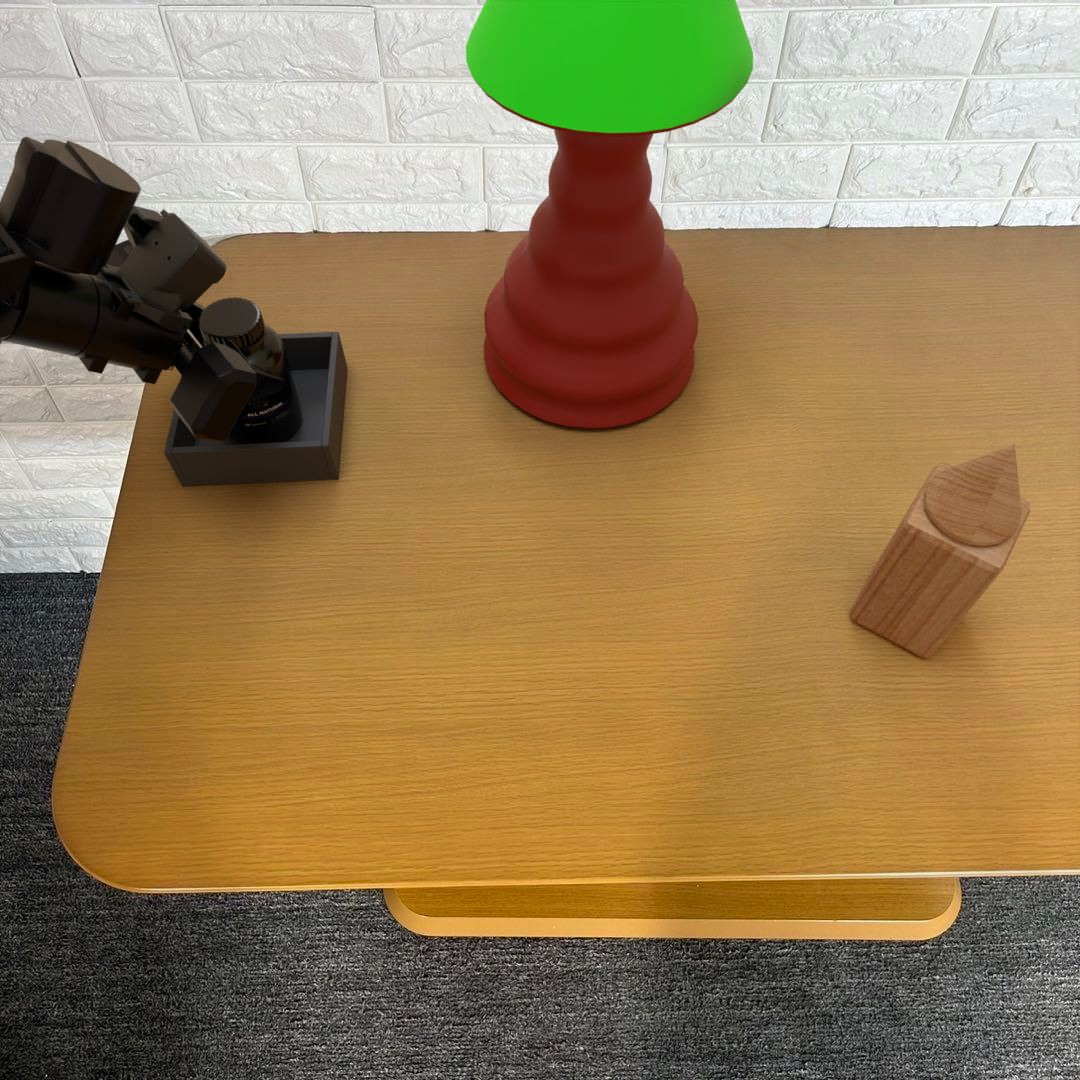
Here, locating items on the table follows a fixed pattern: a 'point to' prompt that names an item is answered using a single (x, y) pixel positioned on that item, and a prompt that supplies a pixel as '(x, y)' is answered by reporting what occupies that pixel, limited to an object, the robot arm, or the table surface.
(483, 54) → the table lamp
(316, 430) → the bin
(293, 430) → the supplement bottle
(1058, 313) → the table surface
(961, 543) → the decorative item
